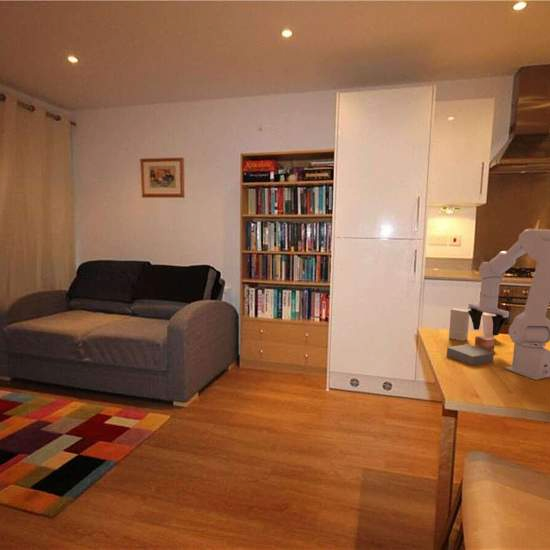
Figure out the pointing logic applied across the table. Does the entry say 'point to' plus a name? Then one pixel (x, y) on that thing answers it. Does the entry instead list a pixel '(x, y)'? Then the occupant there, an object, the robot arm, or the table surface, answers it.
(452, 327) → the skincare box
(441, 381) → the table surface
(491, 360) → the base block
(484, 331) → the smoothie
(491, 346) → the cube
